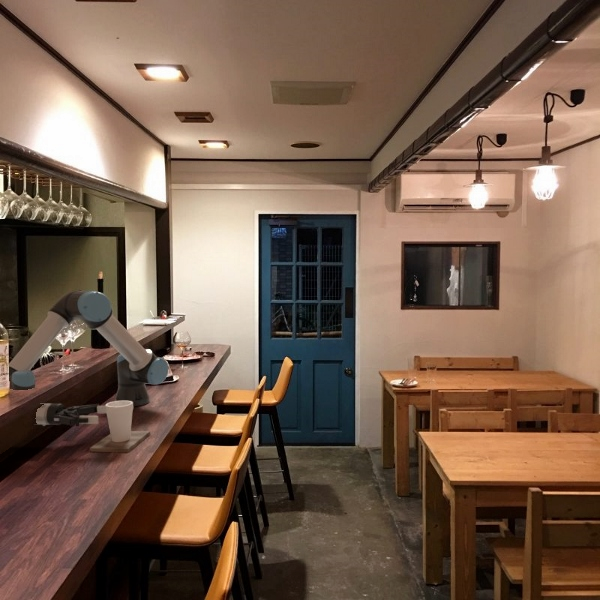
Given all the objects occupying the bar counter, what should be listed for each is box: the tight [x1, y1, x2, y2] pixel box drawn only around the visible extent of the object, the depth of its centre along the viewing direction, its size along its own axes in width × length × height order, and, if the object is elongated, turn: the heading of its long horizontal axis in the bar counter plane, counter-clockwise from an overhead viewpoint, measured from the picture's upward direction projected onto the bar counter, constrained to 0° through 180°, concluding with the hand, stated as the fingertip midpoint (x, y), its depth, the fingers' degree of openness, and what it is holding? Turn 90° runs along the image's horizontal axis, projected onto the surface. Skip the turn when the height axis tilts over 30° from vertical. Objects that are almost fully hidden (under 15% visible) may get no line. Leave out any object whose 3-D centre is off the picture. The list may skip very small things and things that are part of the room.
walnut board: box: [89, 430, 151, 453], centre depth 219 cm, size 20×14×1 cm
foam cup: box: [104, 400, 134, 442], centre depth 219 cm, size 10×9×13 cm
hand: (106, 414), depth 219 cm, fingers open, 13 cm apart
